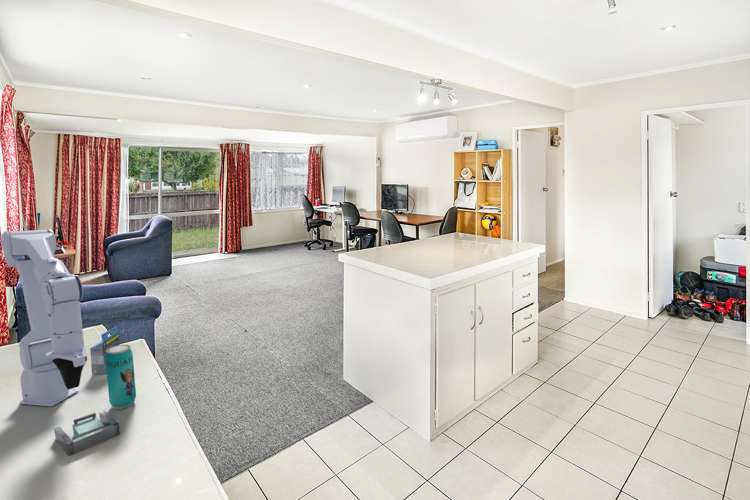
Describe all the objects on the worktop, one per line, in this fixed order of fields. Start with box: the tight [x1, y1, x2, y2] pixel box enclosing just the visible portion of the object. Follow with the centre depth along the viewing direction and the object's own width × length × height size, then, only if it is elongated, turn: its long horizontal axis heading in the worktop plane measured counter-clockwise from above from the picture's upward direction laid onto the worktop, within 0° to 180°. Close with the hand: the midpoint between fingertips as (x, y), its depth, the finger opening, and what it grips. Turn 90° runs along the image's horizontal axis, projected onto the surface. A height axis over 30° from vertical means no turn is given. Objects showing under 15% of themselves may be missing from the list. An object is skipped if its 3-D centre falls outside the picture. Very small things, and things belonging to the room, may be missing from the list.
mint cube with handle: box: [72, 412, 105, 439], centre depth 89 cm, size 6×4×4 cm
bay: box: [53, 409, 121, 457], centre depth 89 cm, size 9×10×2 cm
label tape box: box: [89, 325, 120, 376], centre depth 122 cm, size 9×4×12 cm, turn 6°
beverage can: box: [105, 344, 137, 410], centre depth 101 cm, size 6×6×15 cm
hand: (72, 387), depth 92 cm, fingers closed
